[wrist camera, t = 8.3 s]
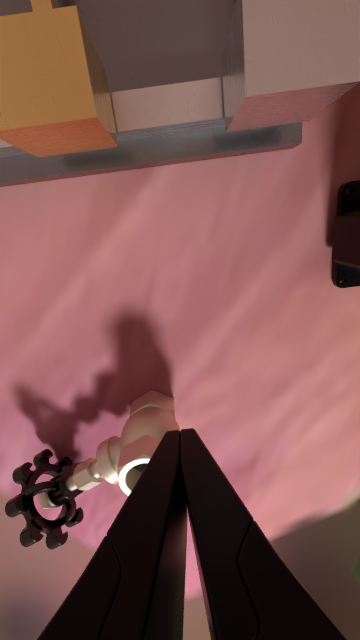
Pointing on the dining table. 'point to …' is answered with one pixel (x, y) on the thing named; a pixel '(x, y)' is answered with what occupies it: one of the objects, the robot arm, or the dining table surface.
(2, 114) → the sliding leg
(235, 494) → the robot arm
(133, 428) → the valve
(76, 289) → the dining table surface
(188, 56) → the bolt plate dividers
